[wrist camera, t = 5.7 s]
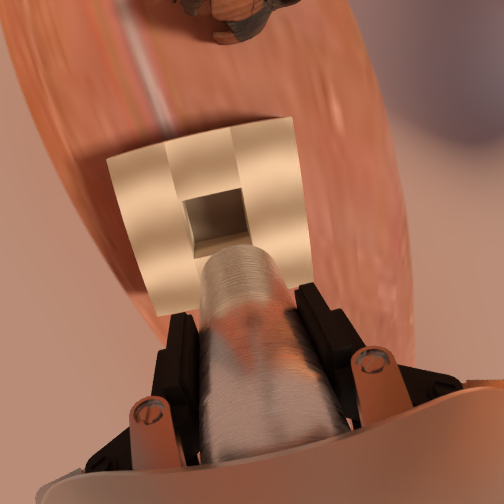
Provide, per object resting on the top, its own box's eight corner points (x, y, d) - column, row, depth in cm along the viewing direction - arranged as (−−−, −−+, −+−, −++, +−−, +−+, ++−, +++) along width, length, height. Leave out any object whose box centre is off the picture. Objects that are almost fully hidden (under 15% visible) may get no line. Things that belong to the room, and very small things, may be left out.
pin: (190, 254, 15) (175, 514, 4) (272, 235, 15) (391, 467, 4) (211, 321, 17) (229, 551, 6) (285, 305, 17) (369, 519, 6)
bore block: (121, 152, 29) (106, 159, 24) (279, 116, 29) (291, 116, 25) (162, 291, 35) (157, 316, 31) (301, 261, 36) (313, 282, 32)
